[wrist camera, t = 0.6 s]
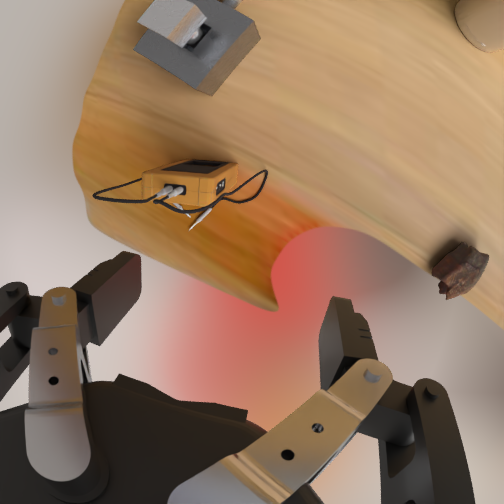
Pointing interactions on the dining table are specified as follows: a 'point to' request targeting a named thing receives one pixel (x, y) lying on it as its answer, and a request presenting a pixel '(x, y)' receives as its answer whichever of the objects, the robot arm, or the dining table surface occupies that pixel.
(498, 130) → the dining table surface
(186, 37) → the grey square peg
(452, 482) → the robot arm
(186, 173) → the multimeter
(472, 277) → the rough brown rock chunk
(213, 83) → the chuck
